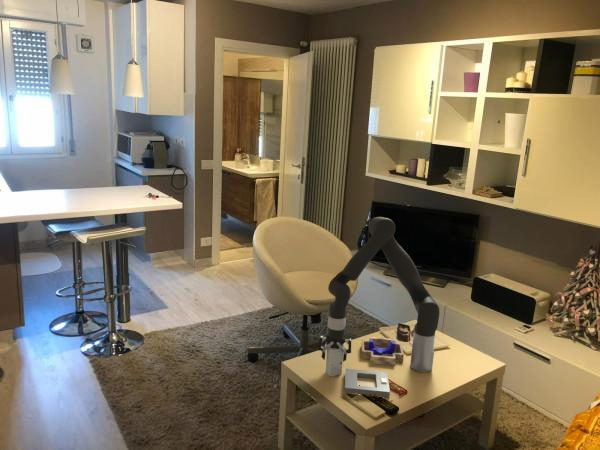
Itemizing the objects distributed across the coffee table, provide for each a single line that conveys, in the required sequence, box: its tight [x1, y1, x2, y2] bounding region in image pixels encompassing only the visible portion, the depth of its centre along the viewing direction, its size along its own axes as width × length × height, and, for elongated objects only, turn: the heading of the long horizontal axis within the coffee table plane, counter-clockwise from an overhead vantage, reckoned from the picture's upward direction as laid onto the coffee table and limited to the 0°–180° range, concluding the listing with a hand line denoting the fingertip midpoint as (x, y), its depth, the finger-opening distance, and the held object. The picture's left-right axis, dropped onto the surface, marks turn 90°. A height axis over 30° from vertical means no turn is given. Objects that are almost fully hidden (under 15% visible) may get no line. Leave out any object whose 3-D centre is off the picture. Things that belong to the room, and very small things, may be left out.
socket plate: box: [344, 368, 391, 399], centre depth 209 cm, size 18×15×4 cm
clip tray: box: [360, 336, 405, 366], centre depth 236 cm, size 19×19×4 cm
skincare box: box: [325, 347, 343, 377], centre depth 217 cm, size 6×4×12 cm
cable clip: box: [368, 338, 396, 356], centre depth 237 cm, size 12×4×6 cm, turn 85°
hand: (333, 359), depth 217 cm, fingers open, 8 cm apart
